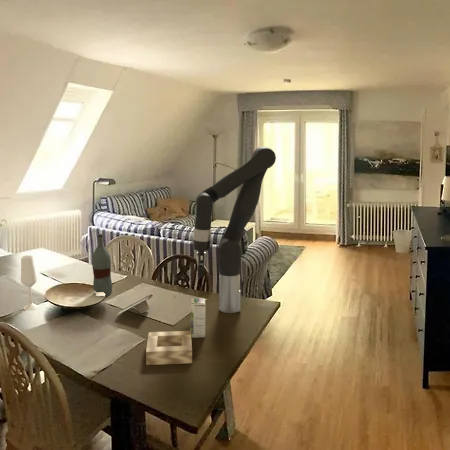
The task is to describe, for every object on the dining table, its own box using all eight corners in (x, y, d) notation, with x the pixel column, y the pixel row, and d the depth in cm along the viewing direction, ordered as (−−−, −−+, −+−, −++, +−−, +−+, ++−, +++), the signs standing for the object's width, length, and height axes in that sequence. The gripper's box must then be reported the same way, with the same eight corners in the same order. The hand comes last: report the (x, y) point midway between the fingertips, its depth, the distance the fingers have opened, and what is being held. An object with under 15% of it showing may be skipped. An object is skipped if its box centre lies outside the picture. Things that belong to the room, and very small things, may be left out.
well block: (191, 342, 189) (191, 330, 188) (192, 363, 173) (191, 350, 172) (149, 344, 187) (148, 332, 186) (146, 364, 172) (146, 351, 171)
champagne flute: (41, 304, 227) (37, 254, 221) (36, 310, 220) (31, 258, 215) (26, 304, 226) (22, 254, 221) (21, 310, 220) (16, 258, 215)
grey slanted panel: (129, 330, 209) (155, 307, 208) (115, 315, 209) (141, 292, 208) (137, 320, 226) (161, 299, 225) (124, 306, 225) (148, 285, 224)
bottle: (112, 296, 237) (109, 236, 230) (93, 298, 235) (89, 237, 229) (112, 290, 246) (109, 232, 239) (94, 291, 244) (90, 232, 238)
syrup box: (190, 331, 198) (190, 298, 195) (205, 331, 199) (205, 297, 196) (191, 338, 193) (190, 303, 190) (206, 337, 193) (205, 303, 190)
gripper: (211, 243, 206) (209, 279, 210) (209, 235, 220) (207, 269, 224) (193, 242, 206) (191, 279, 209) (193, 234, 219) (190, 269, 223)
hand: (199, 274), depth 216 cm, fingers open, 8 cm apart
